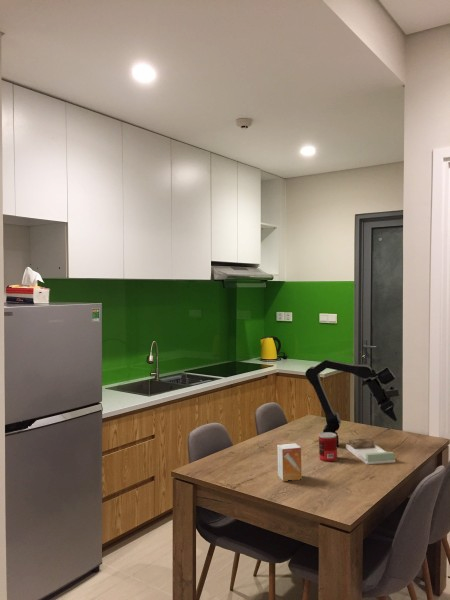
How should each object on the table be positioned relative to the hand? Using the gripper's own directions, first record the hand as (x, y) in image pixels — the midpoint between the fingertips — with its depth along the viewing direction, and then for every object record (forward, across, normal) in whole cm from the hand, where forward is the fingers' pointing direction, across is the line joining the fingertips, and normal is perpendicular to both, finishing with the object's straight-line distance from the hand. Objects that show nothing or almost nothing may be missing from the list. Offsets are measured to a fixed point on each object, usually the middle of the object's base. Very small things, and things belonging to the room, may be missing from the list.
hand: (394, 418), depth 236 cm
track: (+7, -8, +18) cm, 21 cm away
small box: (-8, -42, +48) cm, 65 cm away
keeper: (+4, 0, +20) cm, 20 cm away
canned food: (-2, -17, +34) cm, 38 cm away
